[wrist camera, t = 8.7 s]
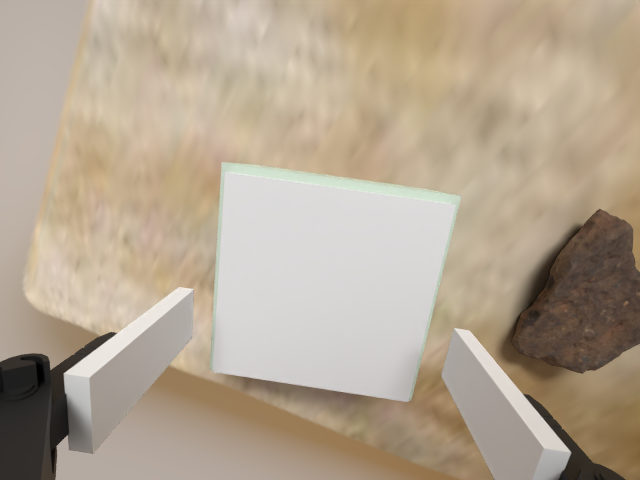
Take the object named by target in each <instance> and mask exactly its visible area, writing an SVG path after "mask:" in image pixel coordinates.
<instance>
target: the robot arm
mask: <svg viewBox="0 0 640 480" xmlns="http://www.w3.org/2000/svg"><path fill="white" fill-rule="evenodd" d="M193 303H194V289H189V288H182V287H179V288H177V289H176V290H175V291H173V292H172V293H171V294H169V295H168V296H167V297H165V298H164V299H163V300H161V301H160V302H159V303H157V304H156V305H155V306H153V307H152V308H151V309H149V310H148V311H147V312H145V313H144V314H143V315H141V316H140V317H139V318H137V319H136V320H135V321H133V322H132V323H131V324H129V325H128V326H127V327H125V328H124V329H123V330H121V331H120V332H119V333H114V332H110V333H108V334H105V335H103V336H100V337H98V338H96V339H94V340H93V341H92V342H90V343H89V344H87V345H86V346H85V347H84V348H82V349H80V350H79V351H77V352H76V353H75V355H72V356H70V357H69V358H68V359H66V360H64V361H63V362H62V363H60V364H59V365H57V366H56V367H55V368H53V369H52V370H50V362H49V359H48V357H47V356H45V355H43V354H24V355H19V356H16V357H11V358H8V359H6V360H4V361H2V362H0V480H55V477H56V462H57V447H56V446H57V445H58V444H59V443H60V442H61V441H62V440H63V439H64V438H65V437H66V436H67V435H68V442H69V450H73V451H79V452H85V453H91V454H93V453H94V452H95V451H96V449H98V447H99V446H100V445H101V444H102V443H103V442H104V440H105V439H106V438H107V436H109V435H110V433H111V432H112V431H113V430H114V429H115V427H116V426H117V425H118V424H119V423H120V421H121V420H122V419H123V418H124V417H125V416H126V415H127V413H128V412H129V411H130V410H131V409H132V408H133V406H134V405H135V404H136V403H137V402H138V401H139V399H140V398H141V397H142V396H143V395H144V393H145V392H146V391H147V390H148V389H149V388H150V387H151V385H152V384H153V383H154V382H155V381H156V379H157V378H158V377H159V376H160V375H161V374H162V372H163V371H164V370H165V369H166V368H167V367H168V365H169V364H170V363H171V362H172V361H173V360H174V358H175V357H176V356H177V355H178V354H179V353H180V351H181V350H182V349H183V348H184V347H185V346H186V344H187V343H188V342H189V341H190V340H191V339H192V326H193ZM441 376H442V378H443V380H444V382H445V384H446V386H447V388H448V390H449V392H450V394H451V396H452V398H453V400H454V402H455V404H456V406H457V407H458V409H459V411H460V413H461V415H462V417H463V419H464V421H465V423H466V425H467V427H468V429H469V431H470V433H471V435H472V437H473V439H474V441H475V443H476V444H477V446H478V448H479V450H480V452H481V454H482V456H483V458H484V460H485V462H486V464H487V466H488V468H489V470H490V472H491V474H492V476H493V478H494V480H625V479H624V478H623V477H621V476H620V475H618V474H617V473H615V472H614V471H612V470H610V469H608V468H606V467H604V466H602V465H600V464H595V463H593V462H592V461H591V460H590V459H589V458H588V457H587V455H586V454H585V453H584V452H583V451H582V450H581V449H580V448H579V446H578V445H577V444H576V443H575V442H574V441H573V440H572V438H571V437H570V436H569V435H568V434H567V433H566V432H565V430H563V429H562V428H561V426H560V425H559V424H558V422H557V421H556V420H554V419H553V417H552V416H551V415H550V413H549V412H548V411H547V410H546V409H545V408H544V407H543V406H542V405H541V404H540V403H539V402H537V401H536V400H535V399H533V398H532V397H531V396H529V395H526V394H522V393H521V392H520V390H519V389H518V388H517V387H516V386H515V384H514V383H513V382H512V381H511V380H510V378H509V377H508V376H507V375H506V374H505V372H504V371H503V370H502V369H501V368H500V366H499V365H498V364H497V363H496V362H495V360H494V359H493V358H492V357H491V356H490V354H489V353H488V352H487V351H486V350H485V348H484V347H483V346H482V345H481V344H480V342H479V341H478V340H477V339H476V338H475V336H474V335H473V334H472V333H471V332H470V330H463V329H456V328H454V330H453V334H452V338H451V341H450V345H449V349H448V353H447V356H446V360H445V364H444V368H443V371H442V375H441Z"/></svg>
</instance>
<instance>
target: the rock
mask: <svg viewBox="0 0 640 480" xmlns="http://www.w3.org/2000/svg"><path fill="white" fill-rule="evenodd" d="M632 248H633V228H632V227H631V225H630V224H629V223H627V222H626V221H625V220H621V219H619V218H618V217H616V216H612V215H610V214H608V213H607V212H606V211H603V210H601V209H599V210H597V211H596V213H594V214H593V215H592V216H591V217H590V218H589V219H588V220H587V221H586V223H585V224H584V225H583V227H582V228H581V230H580V231H579V232H578V233H577V234H576V235H575V236H574V237H573V238H572V239H570V240H569V242H568V243H567V244H566V246H565V247H564V248H563V249H562V251H561V252H560V254H559V255H558V256H557V258H556V260H555V263H554V264H553V266H552V268H551V269H550V276H549V278H548V281H547V284H546V286H545V288H544V289H543V291H542V292H541V293H540V294H539V295H538V296H537V298H536V300H535V301H534V303H533V305H532V306H531V307H529V308H528V309H527V310H526V311H523V312H522V314H521V316H520V320H519V322H518V324H517V327H516V333H515V335H514V336H513V338H512V345H513V346H514V347H515V348H516V349H517V351H518V352H519V353H520V354H523V355H526V356H529V357H533V358H540V359H542V360H544V361H545V362H547V363H548V364H550V365H552V366H560V367H564V368H566V369H569V370H571V371H574V372H577V373H582V374H583V373H584V372H585V371H588V370H594V371H595V370H597V369H599V368H601V367H603V366H604V365H606V364H607V363H609V362H610V361H612V360H613V359H615V358H617V357H618V356H620V355H621V353H623V352H624V351H627V350H628V349H630V348H632V347H634V346H636V345H638V344H640V272H639V271H638V270H637V269H636V267H635V258H634V255H633V253H632Z"/></svg>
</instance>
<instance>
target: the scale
mask: <svg viewBox="0 0 640 480" xmlns="http://www.w3.org/2000/svg"><path fill="white" fill-rule="evenodd" d="M460 199H461V196H458V195H453V194H449V193H444V192H439V191H434V190H429V189H424V188H417V187H410V186H403V185H396V184H389V183H382V182H375V181H368V180H361V179H353V178H346V177H339V176H332V175H325V174H318V173H311V172H304V171H297V170H290V169H283V168H276V167H269V166H262V165H254V164H241V163H226V162H222V169H221V186H220V203H219V219H218V236H217V253H216V270H215V287H214V303H213V320H212V337H211V354H210V370H213V372H216V373H223V374H229V375H236V376H242V377H249V378H255V379H262V380H268V381H275V382H281V383H288V384H294V385H301V386H307V387H314V388H320V389H326V390H333V391H339V392H346V393H352V394H359V395H365V396H372V397H378V398H385V399H391V400H398V401H404V402H408V400H411V399H412V395H413V391H414V387H415V383H416V379H417V375H418V371H419V366H420V362H421V358H422V354H423V350H424V346H425V342H426V338H427V334H428V330H429V326H430V322H431V317H432V313H433V309H434V305H435V301H436V297H437V293H438V289H439V285H440V281H441V277H442V272H443V268H444V264H445V260H446V256H447V252H448V248H449V244H450V240H451V236H452V232H453V228H454V223H455V219H456V215H457V211H458V207H459V203H460Z"/></svg>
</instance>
